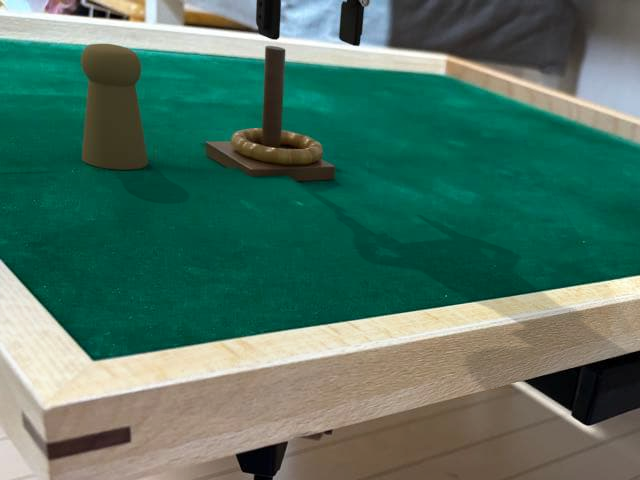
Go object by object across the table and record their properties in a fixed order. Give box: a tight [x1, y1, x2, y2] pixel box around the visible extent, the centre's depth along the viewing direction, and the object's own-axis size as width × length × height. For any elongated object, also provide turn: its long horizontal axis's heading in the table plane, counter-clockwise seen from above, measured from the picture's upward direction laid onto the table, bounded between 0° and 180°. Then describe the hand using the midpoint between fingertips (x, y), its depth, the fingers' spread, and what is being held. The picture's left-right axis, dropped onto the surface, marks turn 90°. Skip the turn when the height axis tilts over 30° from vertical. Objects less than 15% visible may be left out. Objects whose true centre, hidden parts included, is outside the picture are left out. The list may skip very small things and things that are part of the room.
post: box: [205, 45, 336, 182], centre depth 93 cm, size 10×10×12 cm
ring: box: [230, 128, 324, 165], centre depth 96 cm, size 10×10×2 cm
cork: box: [80, 43, 149, 171], centre depth 86 cm, size 6×6×11 cm
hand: (310, 40), depth 93 cm, fingers open, 9 cm apart
